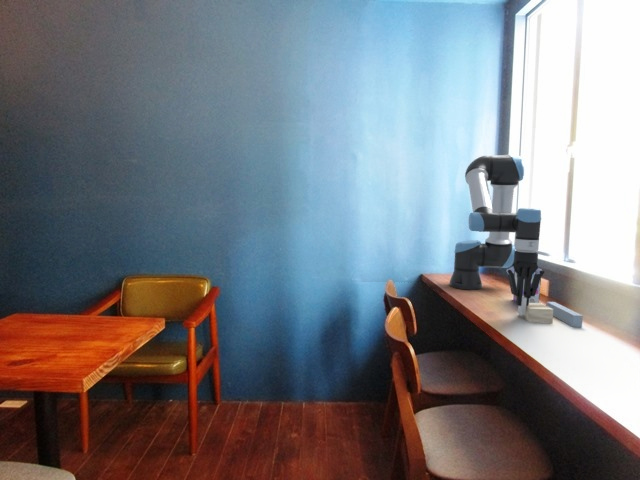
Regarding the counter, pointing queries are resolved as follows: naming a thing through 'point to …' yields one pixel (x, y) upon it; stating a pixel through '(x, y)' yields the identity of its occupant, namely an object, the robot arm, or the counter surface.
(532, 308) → the block
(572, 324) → the blue-grey bar
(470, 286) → the robot arm
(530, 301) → the candy box
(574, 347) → the counter surface
